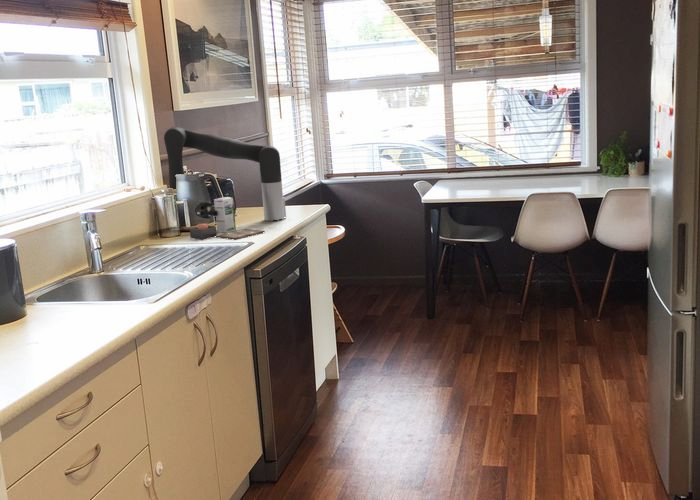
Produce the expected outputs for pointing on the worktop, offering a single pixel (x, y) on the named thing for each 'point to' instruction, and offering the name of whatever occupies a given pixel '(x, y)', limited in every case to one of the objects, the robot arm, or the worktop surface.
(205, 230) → the button housing
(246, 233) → the board
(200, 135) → the robot arm
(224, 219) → the syrup box
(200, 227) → the button
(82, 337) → the worktop surface
